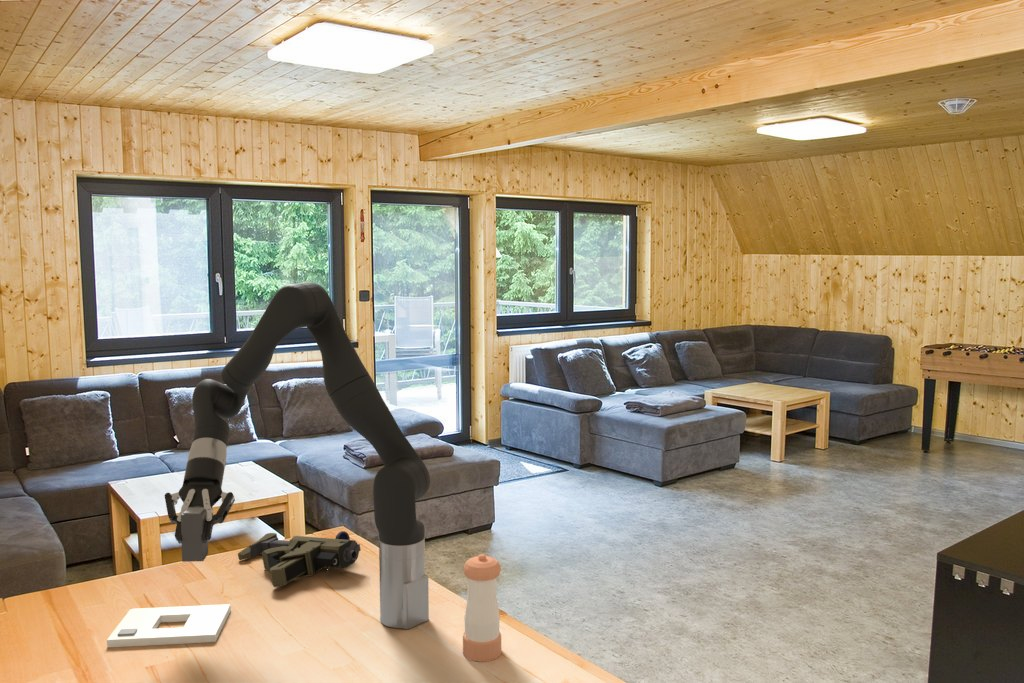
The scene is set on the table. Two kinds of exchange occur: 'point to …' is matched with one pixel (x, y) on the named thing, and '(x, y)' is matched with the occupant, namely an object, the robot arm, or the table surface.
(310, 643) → the table surface
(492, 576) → the pepper shaker
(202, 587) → the table surface
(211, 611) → the plate
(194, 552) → the grey rectangular peg
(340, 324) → the robot arm
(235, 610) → the table surface
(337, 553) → the futuristic firearm
